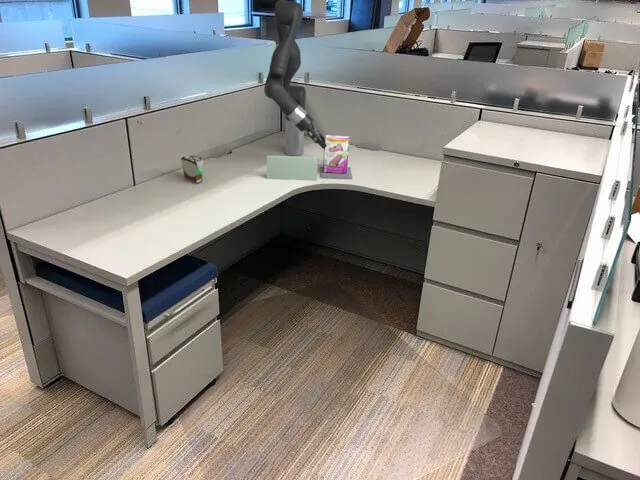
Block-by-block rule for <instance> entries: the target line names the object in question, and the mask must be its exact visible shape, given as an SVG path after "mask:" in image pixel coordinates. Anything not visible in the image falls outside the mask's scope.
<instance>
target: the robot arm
mask: <svg viewBox="0 0 640 480" xmlns="http://www.w3.org/2000/svg"><path fill="white" fill-rule="evenodd" d="M303 14H304V7H303V5H302V4H301V3H300V2H296V1H290V0H278V1H276V2H275V5H274V20H275V25H276V26H275V27H276V32H277V38H278V45H277V46H276V47H275V48H274V50H273V53H272V56H271V60H270V64H269V69H268V74H267V77H266V80H265V84H264V88H263V91H264V92H263V93H264V95H265V96H266V97H267V98H268V99H272V100H273V101H274V102H275V103H276V104H277V105H278V107H279V109H280V111H281V112H282V113H283V114H284V115H285V149H284V150H285V151H284V152H285V154H286V155H288V156H296V157H300V156H301V155H304V152H305V151H304V147H305V145H304V144H305V131H306V132H307V133H306V134H307V136H308V137H310V139H311V140H312V141H313V142H314V143H315V144H318V146H320V147H321V149H322V150H324V148H325V147H326V146H327V145H326V144H325V136H324V135H323V134H322V133H321V130H319V128H318V127H317V126H316V125H315V124H314V123H313V121H314V119H313V117H312V116H310V114H308V112H307V111H306V110H305V109H306V98H307V97H306V95H307V92H306V90H307V89H306V88H305V86H302V85H291V84H290V83H291V81H292V79H293V78H294V76H295V75H296V73H298V71H299V69H300V67H301V63H302V60H301V59H302V58H301V49H300V47H299V45H298V43H297V41H296V38H297V36H298V33H299V29H300V27H301V24H302V20H303Z"/></svg>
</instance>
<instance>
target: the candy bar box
mask: <svg viewBox="0 0 640 480" xmlns="http://www.w3.org/2000/svg"><path fill="white" fill-rule="evenodd" d="M324 138H325V142H324V143H325V144H326V145H327V146H326V147H325V148H324V149H323V162H322V163H323V165H322V166H323V172H325V173H340V174H347V167H348V163H349V153H350V152H349V151H350V140H351V139H350V136H348V135H347V136H344V135H330V134H325V136H324Z"/></svg>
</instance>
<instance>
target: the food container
mask: <svg viewBox="0 0 640 480" xmlns="http://www.w3.org/2000/svg"><path fill="white" fill-rule="evenodd" d="M180 160H181V166H182V172H183V178H184V180H187V181H189V182H192V183H193V184H195V185H199V184H201V183H202V182H203V165H204V164H205V162H204V159H203V157H202V156H201V155H197V154H183V155H180Z"/></svg>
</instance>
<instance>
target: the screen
mask: <svg viewBox="0 0 640 480" xmlns="http://www.w3.org/2000/svg"><path fill="white" fill-rule="evenodd" d="M318 158H319V157H315V156H292V155H288V156H286V155H266V179H267V180H268V179H269V180H290V181H291V180H292V181H293V180H294V181H295V180H296V181H317V177H318Z"/></svg>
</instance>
